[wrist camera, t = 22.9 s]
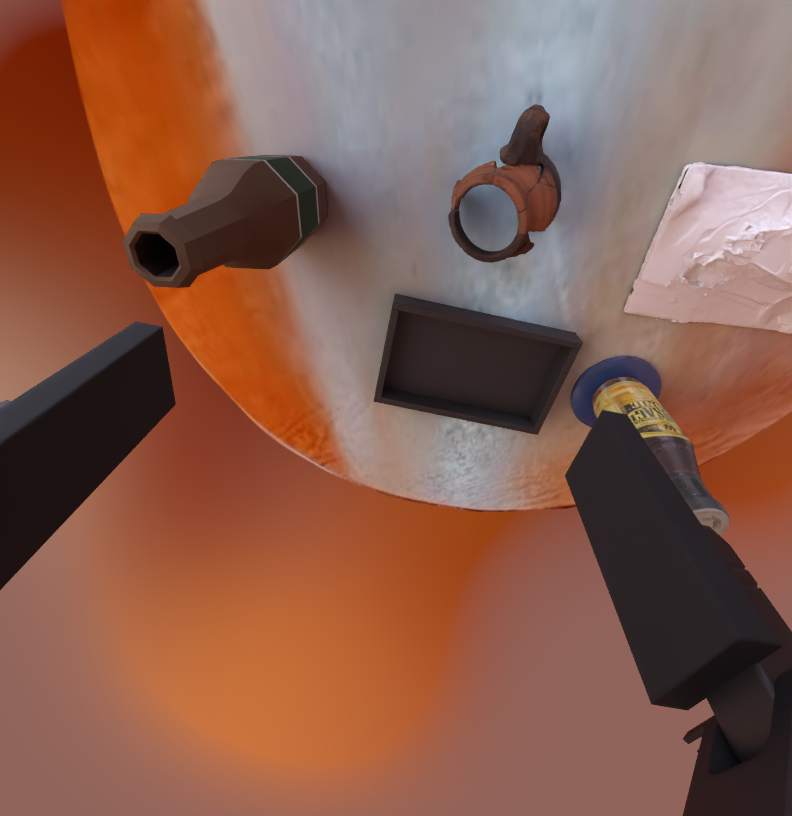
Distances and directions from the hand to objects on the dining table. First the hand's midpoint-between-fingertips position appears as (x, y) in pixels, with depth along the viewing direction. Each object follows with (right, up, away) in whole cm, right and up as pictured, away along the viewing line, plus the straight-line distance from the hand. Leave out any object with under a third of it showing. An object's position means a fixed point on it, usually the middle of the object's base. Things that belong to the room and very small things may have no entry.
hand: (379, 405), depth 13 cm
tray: (+9, +5, +36) cm, 38 cm away
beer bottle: (-10, +21, +28) cm, 36 cm away
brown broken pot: (+11, +21, +26) cm, 35 cm away
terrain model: (+36, +15, +28) cm, 48 cm away
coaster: (+27, +2, +37) cm, 46 cm away
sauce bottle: (+27, +2, +36) cm, 45 cm away
